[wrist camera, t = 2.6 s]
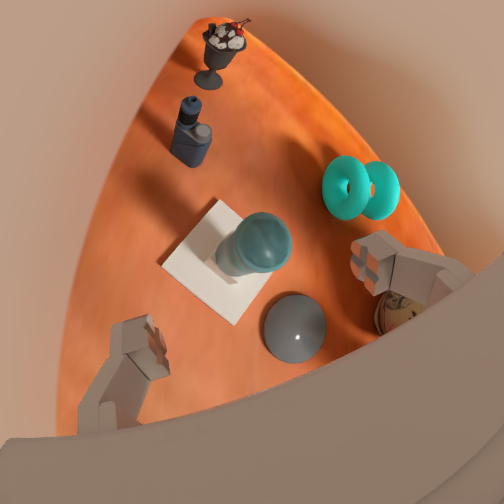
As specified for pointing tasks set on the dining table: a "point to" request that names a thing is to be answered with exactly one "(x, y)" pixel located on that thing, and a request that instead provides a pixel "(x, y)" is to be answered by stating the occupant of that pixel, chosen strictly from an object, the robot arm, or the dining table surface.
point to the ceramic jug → (395, 311)
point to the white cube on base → (213, 266)
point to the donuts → (359, 189)
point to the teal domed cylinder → (255, 246)
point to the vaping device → (190, 134)
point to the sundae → (219, 52)
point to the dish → (294, 328)
